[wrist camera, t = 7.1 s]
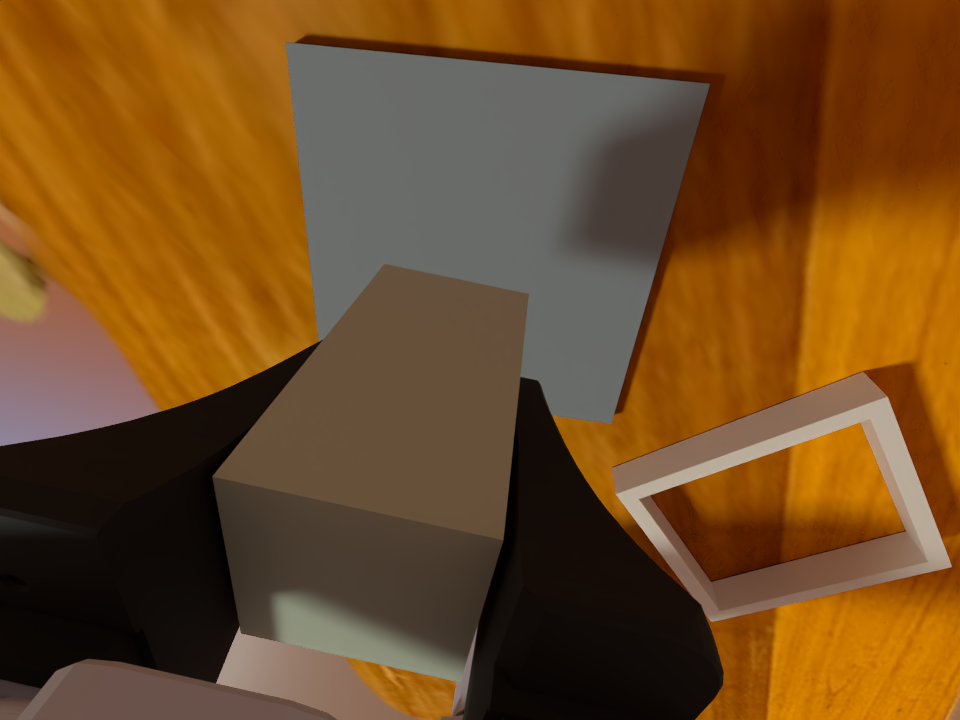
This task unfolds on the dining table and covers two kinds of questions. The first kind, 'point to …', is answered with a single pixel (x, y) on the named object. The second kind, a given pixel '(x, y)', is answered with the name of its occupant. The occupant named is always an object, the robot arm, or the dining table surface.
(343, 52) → the mat
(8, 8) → the dining table surface
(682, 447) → the rectangular frame
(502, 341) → the block
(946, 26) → the dining table surface
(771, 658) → the dining table surface
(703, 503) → the dining table surface
